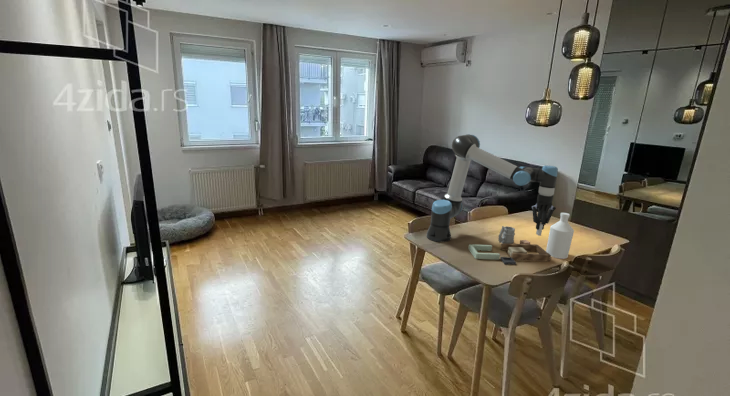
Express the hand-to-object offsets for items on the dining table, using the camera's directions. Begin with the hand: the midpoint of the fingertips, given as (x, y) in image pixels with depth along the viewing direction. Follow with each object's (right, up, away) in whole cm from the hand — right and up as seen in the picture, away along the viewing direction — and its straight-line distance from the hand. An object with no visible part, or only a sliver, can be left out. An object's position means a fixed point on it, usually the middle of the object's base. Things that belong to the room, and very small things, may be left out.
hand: (538, 234), depth 195 cm
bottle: (+14, -12, +7) cm, 20 cm away
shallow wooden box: (-6, -12, +5) cm, 14 cm away
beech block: (-11, -12, +4) cm, 17 cm away
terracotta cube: (-1, -9, +15) cm, 18 cm away
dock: (-30, -11, +3) cm, 32 cm away
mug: (-11, -8, +20) cm, 24 cm away
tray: (-20, -14, -5) cm, 25 cm away
